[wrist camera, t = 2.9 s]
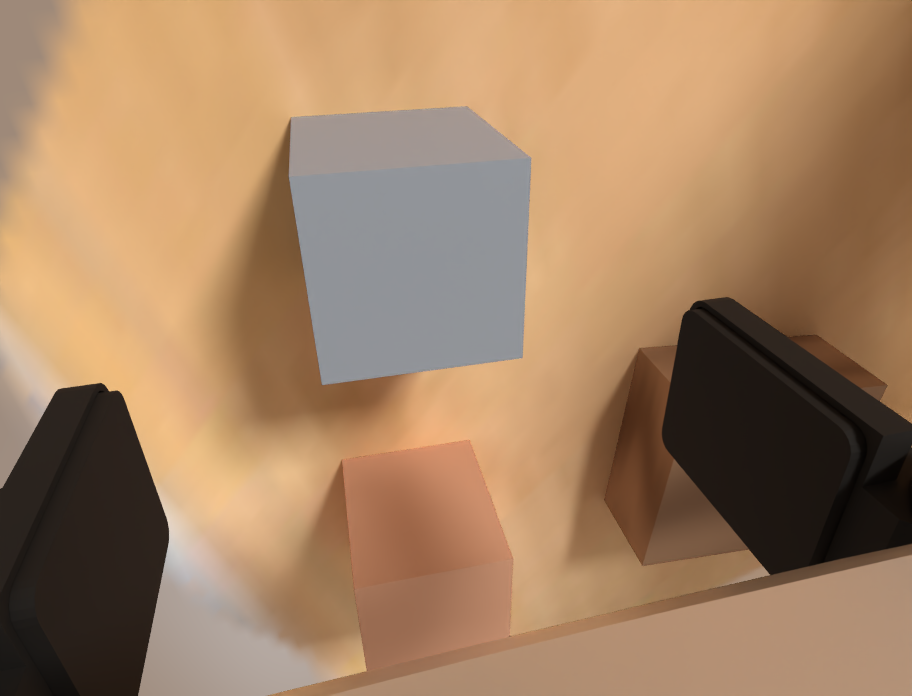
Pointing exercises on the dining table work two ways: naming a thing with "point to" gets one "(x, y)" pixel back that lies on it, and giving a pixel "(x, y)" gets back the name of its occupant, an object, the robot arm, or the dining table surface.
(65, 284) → the dining table surface
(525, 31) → the dining table surface
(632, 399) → the walnut base
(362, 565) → the terracotta block
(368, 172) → the slate block
